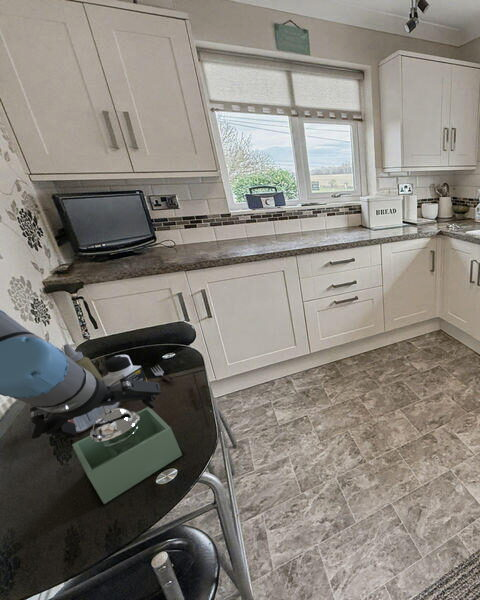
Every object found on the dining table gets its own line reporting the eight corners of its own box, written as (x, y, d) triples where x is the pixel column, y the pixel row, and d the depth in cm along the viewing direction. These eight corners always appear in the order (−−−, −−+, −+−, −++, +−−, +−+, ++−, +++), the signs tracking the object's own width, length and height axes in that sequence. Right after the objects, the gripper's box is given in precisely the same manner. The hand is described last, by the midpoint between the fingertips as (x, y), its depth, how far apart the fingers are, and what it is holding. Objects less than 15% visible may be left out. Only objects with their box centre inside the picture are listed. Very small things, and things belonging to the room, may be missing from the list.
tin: (120, 402, 99) (109, 379, 96) (128, 403, 98) (117, 379, 95) (64, 440, 85) (48, 414, 82) (73, 441, 85) (58, 415, 82)
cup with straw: (108, 461, 75) (69, 389, 68) (154, 439, 81) (123, 370, 74) (110, 483, 69) (67, 407, 62) (160, 458, 75) (126, 385, 68)
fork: (168, 386, 105) (166, 381, 104) (152, 373, 114) (149, 368, 113) (177, 382, 107) (175, 377, 106) (160, 369, 116) (158, 364, 115)
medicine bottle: (129, 397, 101) (113, 364, 97) (110, 397, 102) (94, 364, 98) (149, 384, 107) (135, 352, 103) (131, 383, 109) (117, 352, 105)
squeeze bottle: (96, 399, 102) (70, 349, 95) (67, 404, 101) (39, 353, 94) (113, 384, 109) (90, 336, 103) (86, 389, 108) (61, 341, 102)
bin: (87, 471, 74) (71, 444, 72) (160, 431, 85) (148, 406, 82) (104, 504, 66) (86, 475, 63) (182, 455, 76) (170, 428, 73)
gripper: (-41, 449, 48) (39, 462, 65) (161, 381, 60) (183, 406, 78) (-44, 402, 50) (34, 426, 67) (152, 346, 63) (175, 378, 80)
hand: (114, 416), depth 72 cm, fingers open, 13 cm apart
